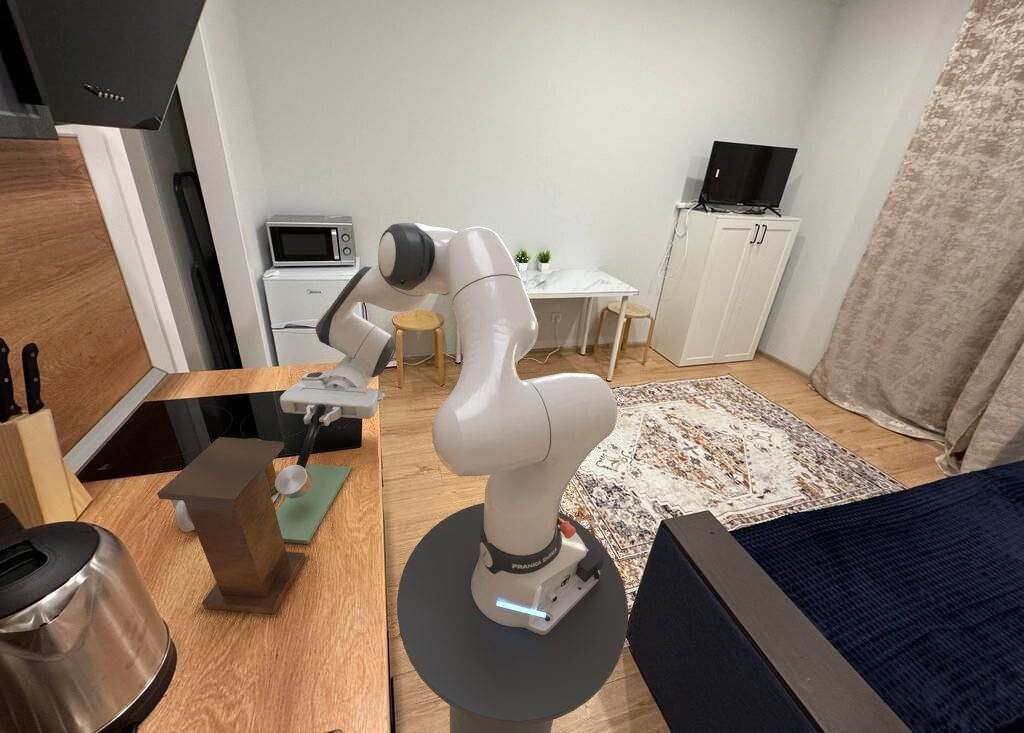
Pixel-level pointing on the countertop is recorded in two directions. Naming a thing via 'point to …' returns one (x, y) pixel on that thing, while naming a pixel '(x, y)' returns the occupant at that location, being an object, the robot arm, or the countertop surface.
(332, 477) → the mat
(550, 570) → the robot arm
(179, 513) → the cup
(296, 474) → the measuring scoop
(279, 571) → the stand
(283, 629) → the countertop surface
